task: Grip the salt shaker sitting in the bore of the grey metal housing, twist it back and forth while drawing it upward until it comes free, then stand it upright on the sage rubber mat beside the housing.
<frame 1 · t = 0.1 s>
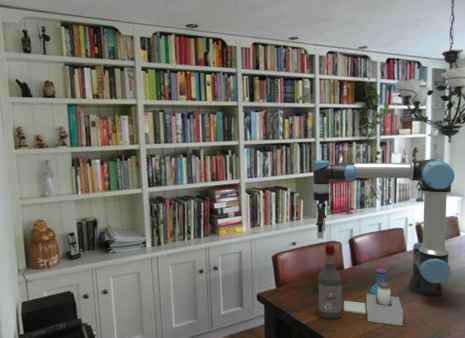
hand: (321, 234, 174), 28 cm above the table, tool pointing down, fingers open, 13 cm apart
mat: (354, 307, 156), on the table
perfume bottle: (380, 301, 162), on the table
liquor: (329, 313, 152), on the table
housing: (383, 315, 149), on the table
salt shaker: (383, 311, 149), point 2 cm above the table, touching housing
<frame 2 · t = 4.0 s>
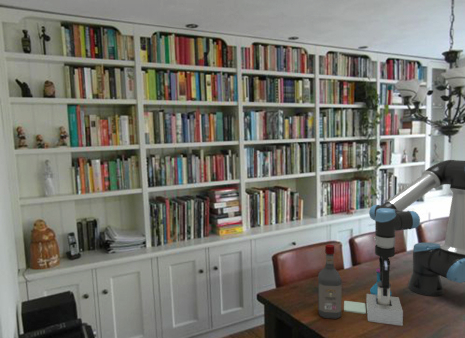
hand: (383, 299, 148), 7 cm above the table, tool pointing down, fingers closed on salt shaker, 5 cm apart
salt shaker: (383, 311, 149), point 2 cm above the table, touching gripper, housing
everything else where it was.
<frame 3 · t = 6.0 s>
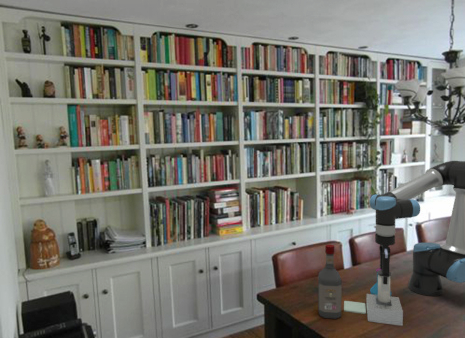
hand: (384, 287, 148), 12 cm above the table, tool pointing down, fingers closed on salt shaker, 5 cm apart
salt shaker: (383, 299, 148), point 7 cm above the table, touching gripper
everything else where it was.
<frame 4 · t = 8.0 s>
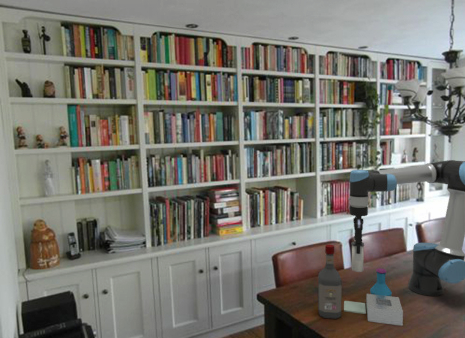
hand: (357, 258, 153), 23 cm above the table, tool pointing down, fingers closed on salt shaker, 5 cm apart
salt shaker: (357, 269, 154), point 18 cm above the table, touching gripper
everything else where it was.
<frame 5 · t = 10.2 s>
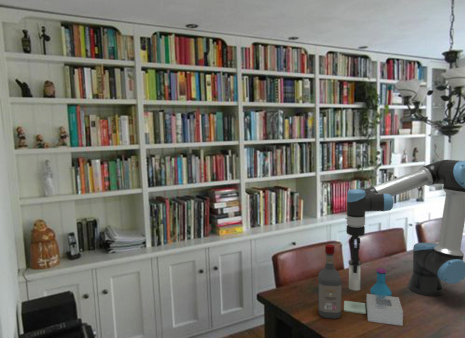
hand: (354, 276, 155), 14 cm above the table, tool pointing down, fingers closed on salt shaker, 5 cm apart
salt shaker: (354, 288, 156), point 9 cm above the table, touching gripper
everything else where it was.
when the fingers open (7 cm above the table, at t = 12.3 s): salt shaker stays where it is, resting on mat.
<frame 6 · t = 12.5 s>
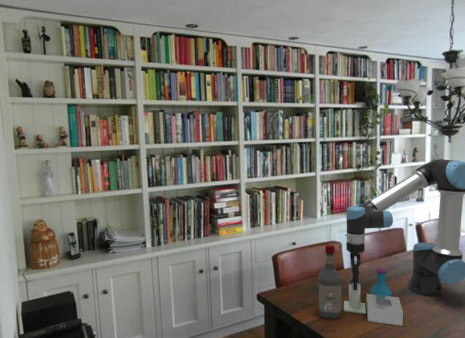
hand: (354, 292, 156), 7 cm above the table, tool pointing down, fingers open, 8 cm apart
salt shaker: (354, 306, 156), point 1 cm above the table, touching mat
everything else where it was.
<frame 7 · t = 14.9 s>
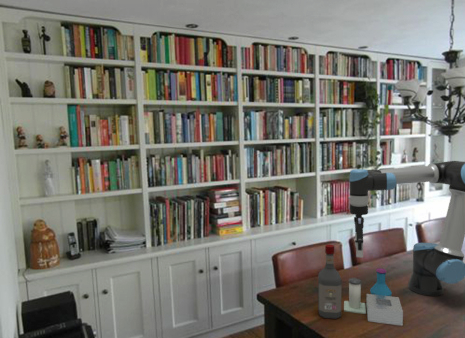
hand: (359, 252, 156), 25 cm above the table, tool pointing down, fingers open, 13 cm apart
nothing on the table moved.
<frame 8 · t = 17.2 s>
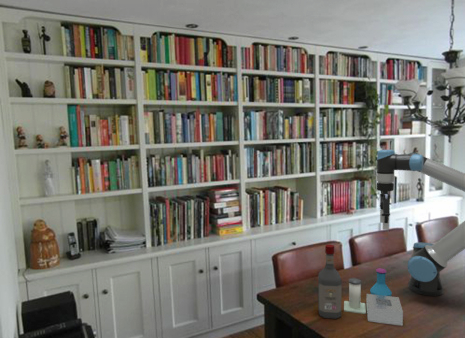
hand: (384, 226, 169), 33 cm above the table, tool pointing down, fingers open, 13 cm apart
nothing on the table moved.
at the end: salt shaker 0.0 cm off-centre on the mat, point 0.6 cm above the mat's base; salt shaker tilted 0°; the gripper is holding nothing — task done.
